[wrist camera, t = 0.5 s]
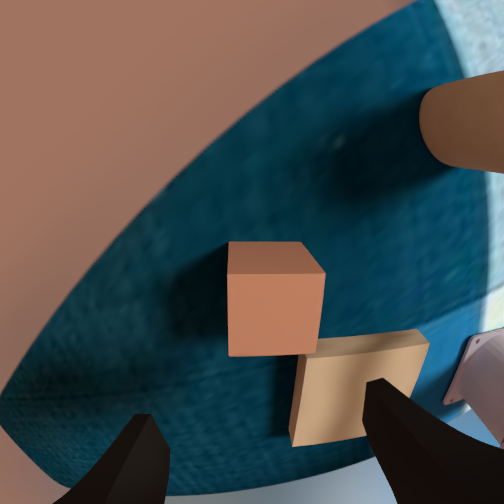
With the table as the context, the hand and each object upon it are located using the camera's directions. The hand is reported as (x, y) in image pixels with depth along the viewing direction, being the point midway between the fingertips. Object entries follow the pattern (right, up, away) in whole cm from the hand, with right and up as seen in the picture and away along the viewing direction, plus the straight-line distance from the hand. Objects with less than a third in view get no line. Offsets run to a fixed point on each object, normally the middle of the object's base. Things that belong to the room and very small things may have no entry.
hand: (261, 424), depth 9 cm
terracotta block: (0, +4, +9) cm, 10 cm away
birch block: (+7, -4, +12) cm, 15 cm away
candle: (+12, +14, +7) cm, 20 cm away
